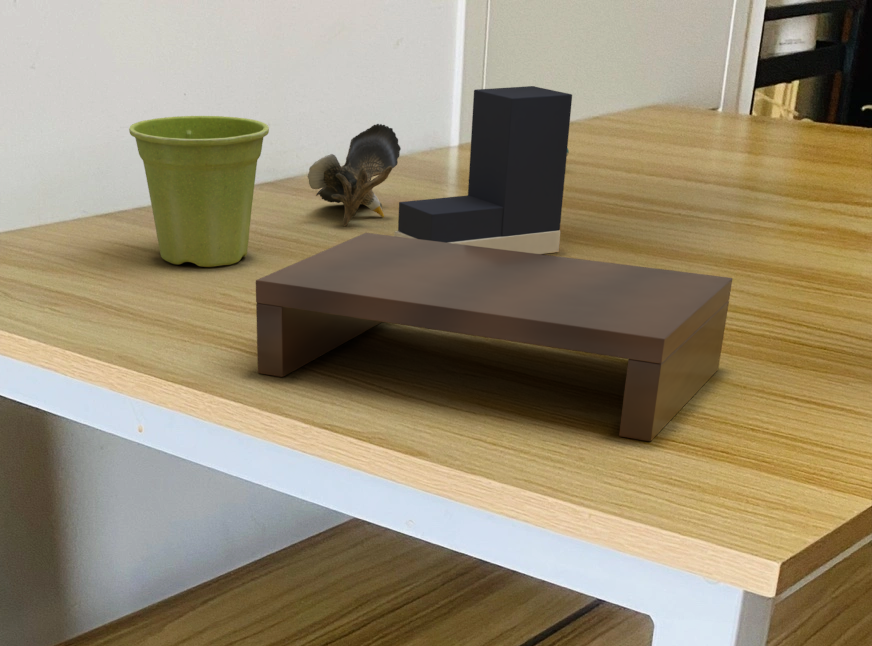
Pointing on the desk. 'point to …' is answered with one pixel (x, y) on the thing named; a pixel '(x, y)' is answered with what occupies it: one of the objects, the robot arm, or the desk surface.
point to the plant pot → (201, 184)
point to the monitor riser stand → (504, 311)
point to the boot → (504, 176)
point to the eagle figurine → (357, 171)
